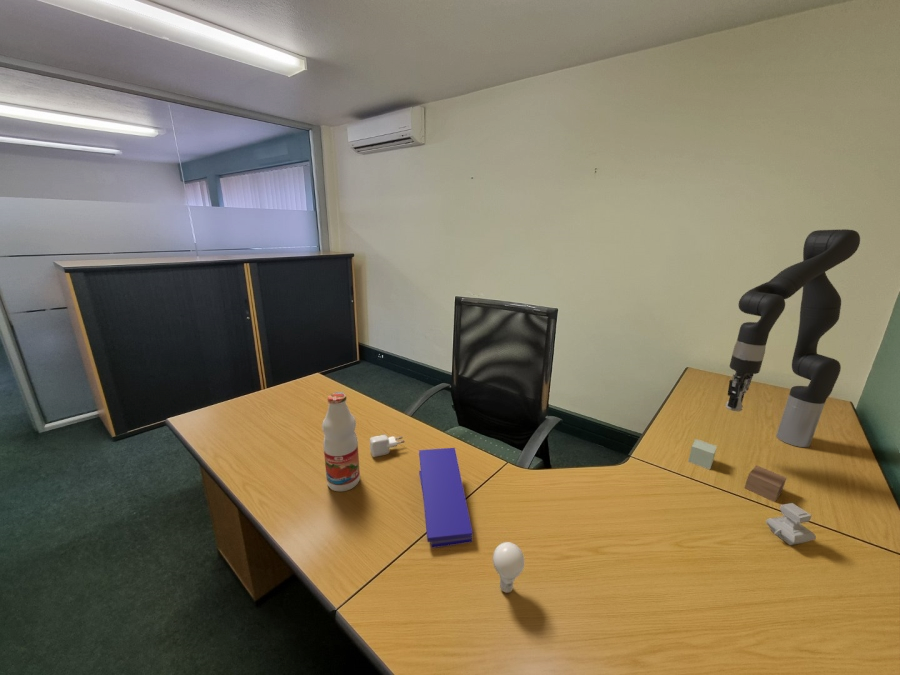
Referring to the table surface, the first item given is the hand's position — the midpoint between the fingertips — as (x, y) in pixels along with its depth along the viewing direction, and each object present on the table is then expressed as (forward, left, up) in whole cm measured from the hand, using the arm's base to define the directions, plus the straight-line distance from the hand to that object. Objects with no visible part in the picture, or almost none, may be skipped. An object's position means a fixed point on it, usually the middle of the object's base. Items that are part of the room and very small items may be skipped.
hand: (734, 405), depth 117 cm
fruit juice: (+110, -60, -19) cm, 127 cm away
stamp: (+27, +23, -19) cm, 40 cm away
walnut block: (+10, +14, -19) cm, 26 cm away
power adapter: (+93, -67, -19) cm, 116 cm away
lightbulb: (+94, -8, -19) cm, 96 cm away
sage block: (+10, -3, -19) cm, 22 cm away
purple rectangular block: (+91, -36, -20) cm, 100 cm away
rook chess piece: (0, 0, -2) cm, 2 cm away
